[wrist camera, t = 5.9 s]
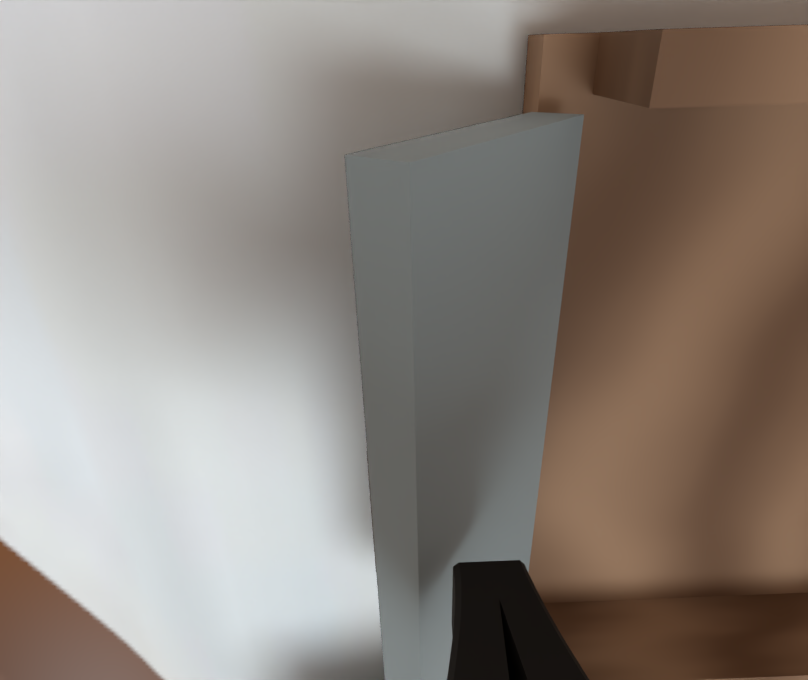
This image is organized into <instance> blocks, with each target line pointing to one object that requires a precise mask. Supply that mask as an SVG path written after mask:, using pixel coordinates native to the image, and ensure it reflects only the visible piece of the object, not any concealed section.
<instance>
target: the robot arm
mask: <svg viewBox="0 0 808 680" xmlns="http://www.w3.org/2000/svg"><path fill="white" fill-rule="evenodd" d="M452 637H453V638H452V646H451V654H450V661H449V669H448V676H447V680H589V678H588V677H587V675H586V674H585V672H584V670H583V669H582V667H581V666H580V664H579V662H578V661H577V659H576V658H575V656H574V654H573V653H572V651H571V650H570V648H569V646H568V645H567V643H566V641H565V640H564V638H563V636H562V635H561V633H560V631H559V630H558V628H557V626H556V624H555V623H554V621H553V619H552V617H551V615H550V614H549V612H548V610H547V608H546V606H545V605H544V603H543V601H542V599H541V597H540V595H539V593H538V591H537V589H536V587H535V585H534V583H533V581H532V579H531V577H530V575H529V573H528V571H527V569H526V566H525V564H524V563H523V562H521V561H520V560H507V561H482V562H459V563H457V564H456V565H455V566H453V587H452Z"/></svg>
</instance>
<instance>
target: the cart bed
mask: <svg viewBox="0 0 808 680" xmlns="http://www.w3.org/2000/svg"><path fill="white" fill-rule="evenodd" d="M529 112H544V113H565V114H584V120H583V128H582V136H581V144H580V153H579V161H578V169H577V177H576V186H575V194H574V202H573V210H572V218H571V227H570V235H569V243H568V251H567V259H566V268H565V276H564V284H563V292H562V301H561V309H560V317H559V325H558V333H557V342H556V350H555V358H554V366H553V375H552V383H551V391H550V399H549V407H548V416H547V424H546V432H545V440H544V449H543V457H542V465H541V473H540V481H539V490H538V498H537V506H536V514H535V522H534V531H533V539H532V547H531V555H530V564H529V572H528V573H529V575H530V577H531V579H532V581H533V583H534V585H535V587H536V589H537V591H538V593H539V595H540V597H541V599H542V601H543V603H544V605H545V606H546V608H547V610H548V612H549V614H550V615H551V617H552V619H553V621H554V623H555V624H556V626H557V628H558V630H559V631H560V633H561V635H562V636H563V638H564V640H565V641H566V643H567V645H568V646H569V648H570V650H571V651H572V653H573V654H574V656H575V658H576V659H577V661H578V662H579V664H580V666H581V667H582V669H583V670H584V672H585V674H586V675H587V677H588V678H589V680H808V25H779V26H747V27H715V28H683V29H656V30H638V31H619V32H601V33H570V34H541V35H528V46H527V60H526V74H525V88H524V102H523V114H525V113H529Z"/></svg>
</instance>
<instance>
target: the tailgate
mask: <svg viewBox="0 0 808 680" xmlns="http://www.w3.org/2000/svg"><path fill="white" fill-rule="evenodd" d="M583 120H584V114H565V113H544V112H529V113H525V114H520V115H516V116H512V117H507V118H503V119H499V120H494V121H490V122H485V123H481V124H477V125H472V126H468V127H464V128H459V129H455V130H451V131H446V132H442V133H437V134H433V135H429V136H424V137H420V138H416V139H411V140H407V141H402V142H398V143H394V144H389V145H385V146H381V147H376V148H372V149H368V150H363V151H359V152H354V153H350V154H346V155H345V166H346V179H347V192H348V205H349V218H350V232H351V245H352V258H353V271H354V284H355V297H356V310H357V323H358V336H359V349H360V362H361V375H362V389H363V402H364V415H365V428H366V441H367V461H368V474H369V487H370V500H371V513H372V526H373V539H374V552H375V565H376V572H377V585H378V598H379V611H380V624H381V637H382V650H383V663H384V677H385V680H447V676H448V669H449V661H450V654H451V646H452V638H453V637H452V587H453V566H455V565H456V564H457V563H459V562H482V561H507V560H520V561H521V562H523V563H524V564H525V566H526V569H527V571H528V572H529V564H530V555H531V547H532V539H533V531H534V522H535V514H536V506H537V498H538V490H539V481H540V473H541V465H542V457H543V449H544V440H545V432H546V424H547V416H548V407H549V399H550V391H551V383H552V375H553V366H554V358H555V350H556V342H557V333H558V325H559V317H560V309H561V301H562V292H563V284H564V276H565V268H566V259H567V251H568V243H569V235H570V227H571V218H572V210H573V202H574V194H575V186H576V177H577V169H578V161H579V153H580V144H581V136H582V128H583Z"/></svg>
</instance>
